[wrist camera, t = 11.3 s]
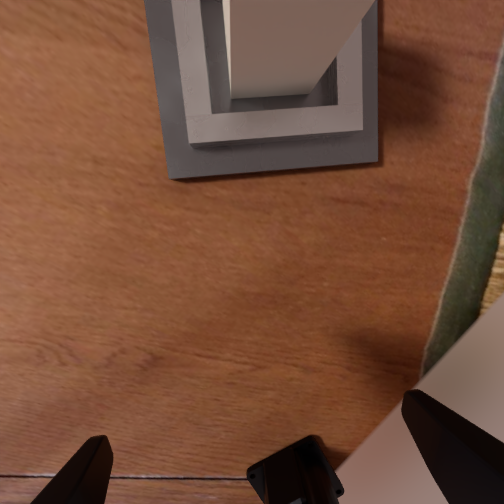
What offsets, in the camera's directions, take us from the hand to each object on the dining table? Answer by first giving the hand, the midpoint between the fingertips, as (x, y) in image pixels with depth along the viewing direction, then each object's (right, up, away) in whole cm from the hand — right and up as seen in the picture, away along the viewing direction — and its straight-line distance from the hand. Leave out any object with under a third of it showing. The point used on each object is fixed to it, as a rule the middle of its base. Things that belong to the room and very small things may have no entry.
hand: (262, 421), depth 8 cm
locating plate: (+1, +18, +10) cm, 20 cm away
